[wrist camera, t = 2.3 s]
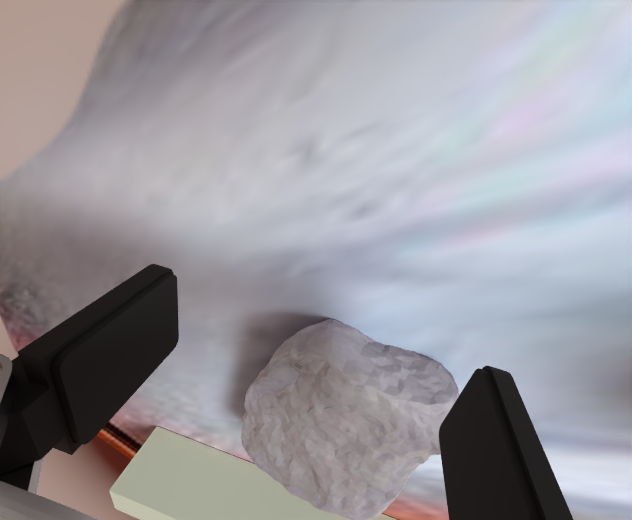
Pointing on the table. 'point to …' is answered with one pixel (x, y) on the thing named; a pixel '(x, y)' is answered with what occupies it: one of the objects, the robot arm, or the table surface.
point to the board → (204, 486)
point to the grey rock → (345, 418)
